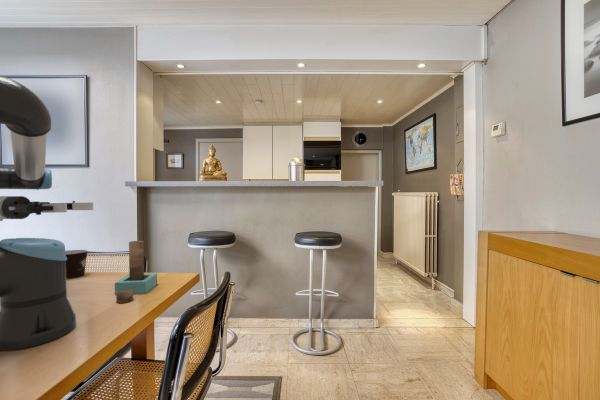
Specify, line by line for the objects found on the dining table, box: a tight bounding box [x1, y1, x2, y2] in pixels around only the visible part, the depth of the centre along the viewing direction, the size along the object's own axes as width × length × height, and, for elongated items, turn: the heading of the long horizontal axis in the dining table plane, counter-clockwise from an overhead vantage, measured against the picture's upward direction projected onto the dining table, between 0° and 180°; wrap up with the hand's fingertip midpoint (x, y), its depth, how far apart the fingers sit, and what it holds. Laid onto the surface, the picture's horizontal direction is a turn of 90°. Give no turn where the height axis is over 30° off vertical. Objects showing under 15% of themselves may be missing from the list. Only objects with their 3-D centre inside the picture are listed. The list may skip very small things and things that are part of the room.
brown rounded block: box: [115, 289, 134, 304], centre depth 90 cm, size 4×4×3 cm
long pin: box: [128, 240, 145, 281], centre depth 101 cm, size 4×4×17 cm
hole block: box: [114, 273, 158, 296], centre depth 101 cm, size 10×10×4 cm
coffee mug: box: [65, 249, 88, 279], centre depth 115 cm, size 12×9×10 cm
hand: (80, 207), depth 95 cm, fingers open, 13 cm apart
